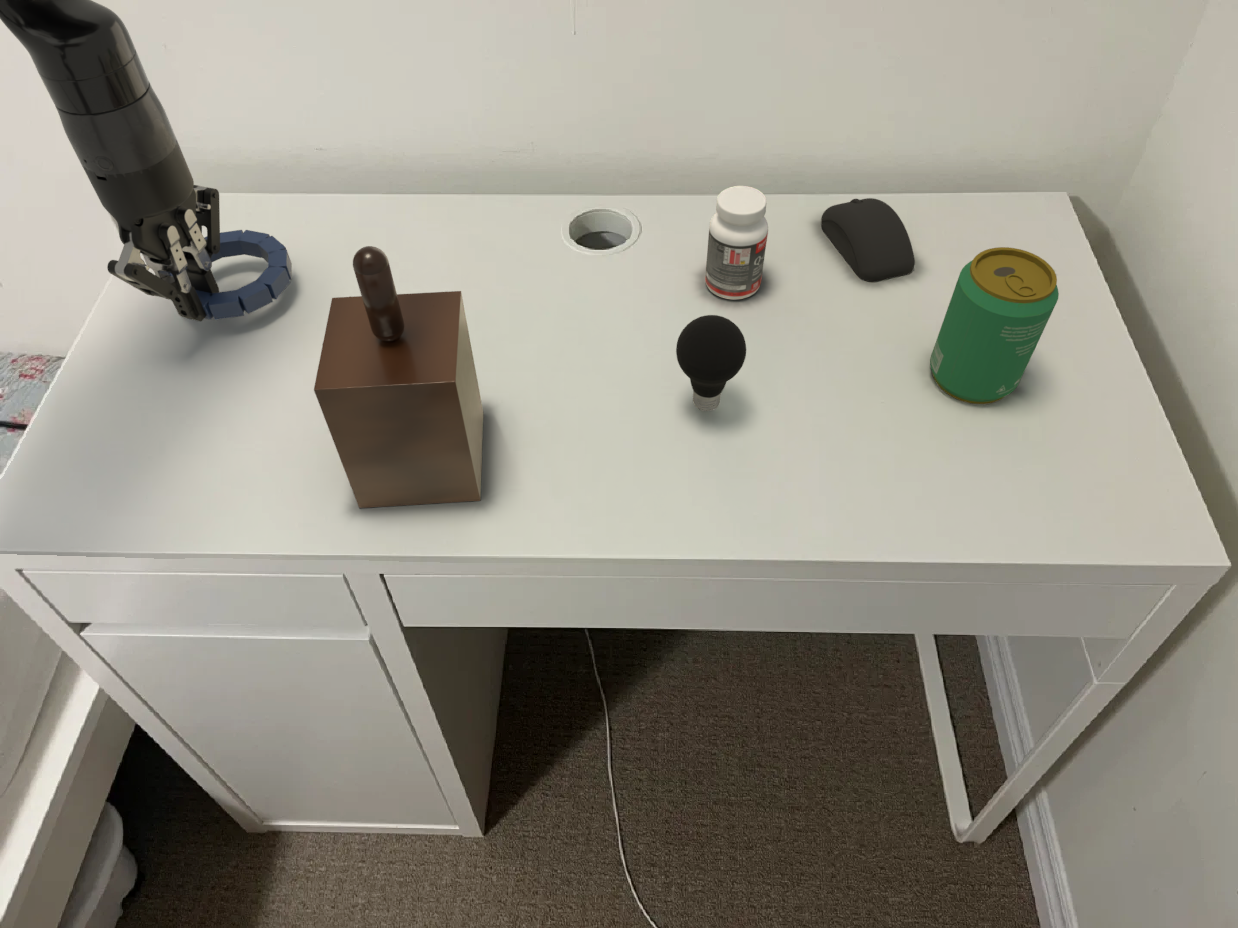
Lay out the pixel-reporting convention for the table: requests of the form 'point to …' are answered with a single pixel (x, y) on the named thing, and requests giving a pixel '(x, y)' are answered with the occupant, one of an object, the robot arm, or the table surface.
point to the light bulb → (710, 357)
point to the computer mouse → (870, 238)
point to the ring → (258, 290)
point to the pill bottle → (737, 243)
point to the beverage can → (993, 324)
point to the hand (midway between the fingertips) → (202, 309)
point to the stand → (401, 392)
